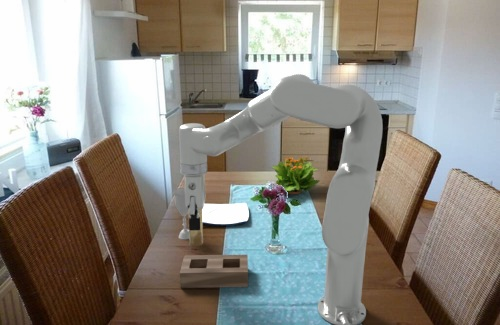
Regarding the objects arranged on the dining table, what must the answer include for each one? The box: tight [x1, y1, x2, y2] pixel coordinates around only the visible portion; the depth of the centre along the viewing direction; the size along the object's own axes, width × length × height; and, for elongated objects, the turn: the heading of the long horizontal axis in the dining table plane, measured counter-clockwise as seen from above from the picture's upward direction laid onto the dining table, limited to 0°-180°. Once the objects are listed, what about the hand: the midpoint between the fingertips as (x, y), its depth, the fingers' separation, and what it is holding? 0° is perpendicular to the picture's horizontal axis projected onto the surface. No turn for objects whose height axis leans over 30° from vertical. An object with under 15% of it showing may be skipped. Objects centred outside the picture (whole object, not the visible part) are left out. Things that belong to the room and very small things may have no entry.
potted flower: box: [270, 156, 320, 195], centre depth 193 cm, size 25×24×18 cm
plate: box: [202, 202, 250, 227], centre depth 165 cm, size 20×20×3 cm
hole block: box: [179, 254, 249, 289], centre depth 122 cm, size 10×20×5 cm, turn 91°
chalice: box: [172, 187, 189, 240], centre depth 146 cm, size 7×7×18 cm
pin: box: [187, 206, 204, 247], centre depth 117 cm, size 4×4×12 cm
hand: (195, 225), depth 117 cm, fingers closed on pin, 4 cm apart
